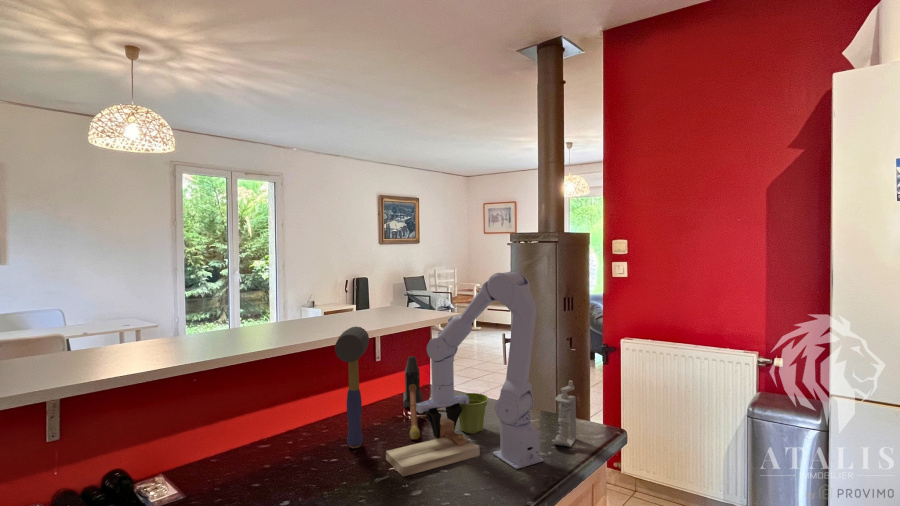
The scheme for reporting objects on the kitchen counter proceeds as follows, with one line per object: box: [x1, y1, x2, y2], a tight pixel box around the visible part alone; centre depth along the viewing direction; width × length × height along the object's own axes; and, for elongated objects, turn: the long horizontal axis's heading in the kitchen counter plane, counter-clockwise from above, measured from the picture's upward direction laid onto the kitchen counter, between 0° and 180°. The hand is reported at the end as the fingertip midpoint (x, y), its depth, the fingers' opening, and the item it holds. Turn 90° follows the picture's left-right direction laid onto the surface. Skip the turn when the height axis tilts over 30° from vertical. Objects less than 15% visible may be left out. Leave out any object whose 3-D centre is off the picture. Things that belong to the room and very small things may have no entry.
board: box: [385, 436, 481, 477], centre depth 116 cm, size 10×20×2 cm, turn 119°
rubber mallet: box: [334, 326, 370, 449], centre depth 123 cm, size 12×8×30 cm, turn 2°
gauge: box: [433, 416, 465, 446], centre depth 123 cm, size 11×4×5 cm, turn 29°
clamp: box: [551, 379, 577, 448], centre depth 123 cm, size 4×10×15 cm, turn 152°
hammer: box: [402, 355, 424, 440], centre depth 141 cm, size 6×16×30 cm
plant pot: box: [458, 392, 489, 434], centre depth 133 cm, size 9×9×9 cm
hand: (443, 435), depth 126 cm, fingers closed on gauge, 4 cm apart
